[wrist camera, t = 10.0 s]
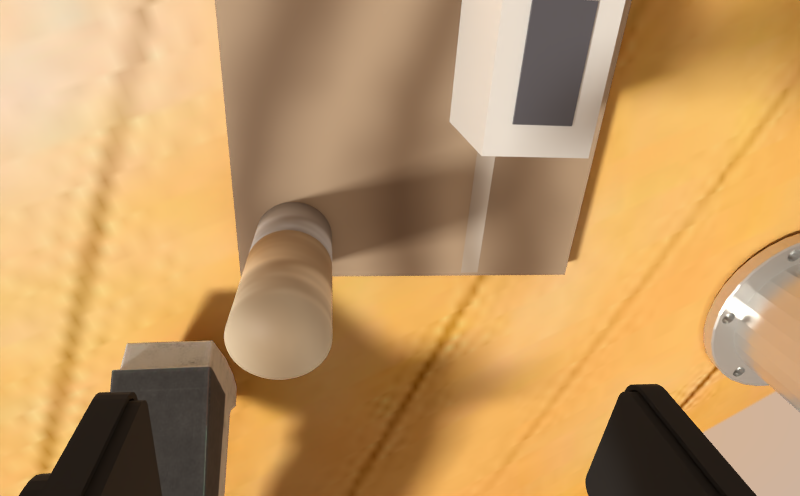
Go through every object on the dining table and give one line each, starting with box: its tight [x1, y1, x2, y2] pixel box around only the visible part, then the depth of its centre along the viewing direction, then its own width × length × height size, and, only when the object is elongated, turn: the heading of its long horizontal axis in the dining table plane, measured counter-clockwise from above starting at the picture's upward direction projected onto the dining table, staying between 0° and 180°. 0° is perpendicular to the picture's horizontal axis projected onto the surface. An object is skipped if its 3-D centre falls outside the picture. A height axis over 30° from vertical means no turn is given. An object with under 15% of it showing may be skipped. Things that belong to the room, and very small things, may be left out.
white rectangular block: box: [450, 0, 626, 158], centre depth 21 cm, size 4×7×6 cm, turn 177°
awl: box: [224, 202, 332, 380], centre depth 23 cm, size 4×4×9 cm
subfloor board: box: [215, 0, 632, 277], centre depth 25 cm, size 19×17×1 cm
